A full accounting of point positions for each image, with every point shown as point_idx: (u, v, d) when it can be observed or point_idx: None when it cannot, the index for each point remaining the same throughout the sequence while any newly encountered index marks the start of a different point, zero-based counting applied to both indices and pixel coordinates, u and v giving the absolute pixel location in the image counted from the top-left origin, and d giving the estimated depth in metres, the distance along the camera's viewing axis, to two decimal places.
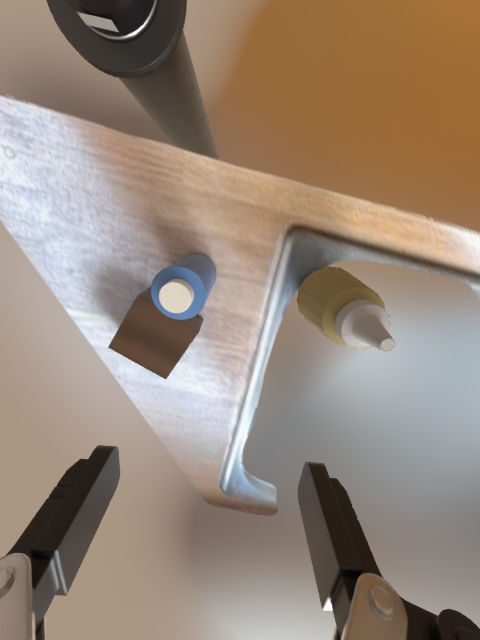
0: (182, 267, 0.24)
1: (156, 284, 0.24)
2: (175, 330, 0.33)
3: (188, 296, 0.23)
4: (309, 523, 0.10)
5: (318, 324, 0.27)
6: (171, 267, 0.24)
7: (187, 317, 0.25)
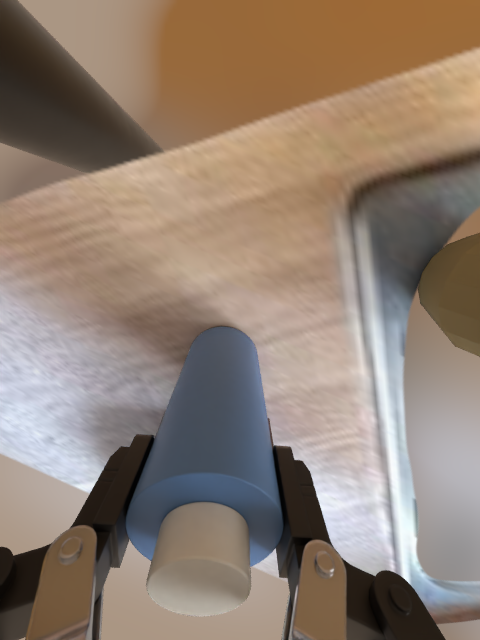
0: (177, 476, 0.08)
1: (139, 534, 0.09)
2: None
3: (233, 574, 0.07)
4: None
5: None
6: (149, 488, 0.08)
7: (255, 561, 0.09)
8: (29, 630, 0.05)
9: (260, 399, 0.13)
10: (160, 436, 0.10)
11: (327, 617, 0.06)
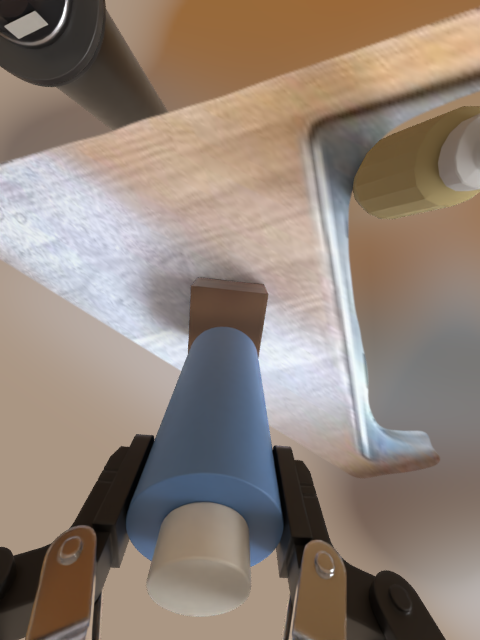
0: (177, 476, 0.08)
1: (139, 534, 0.09)
2: (243, 304, 0.30)
3: (233, 574, 0.07)
4: None
5: (410, 198, 0.21)
6: (149, 488, 0.08)
7: (255, 561, 0.09)
8: (29, 630, 0.05)
9: (260, 399, 0.13)
10: (160, 436, 0.10)
11: (327, 616, 0.06)
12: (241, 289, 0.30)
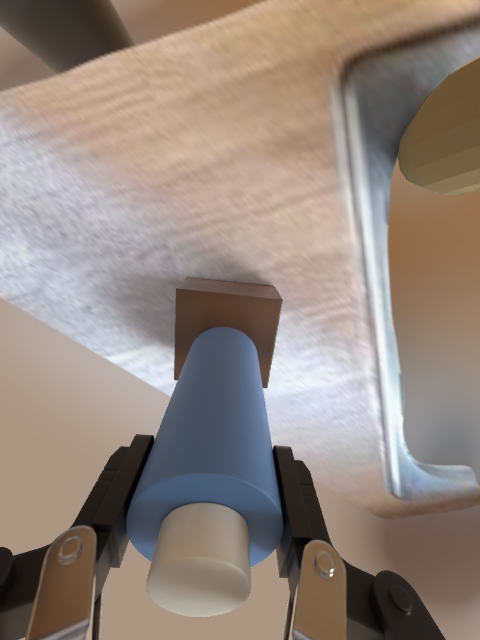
0: (177, 477, 0.08)
1: (139, 534, 0.09)
2: (249, 313, 0.22)
3: (233, 574, 0.07)
4: None
5: None
6: (149, 488, 0.08)
7: (255, 562, 0.09)
8: (29, 630, 0.05)
9: (260, 399, 0.13)
10: (160, 436, 0.10)
11: (327, 617, 0.06)
12: (245, 293, 0.22)
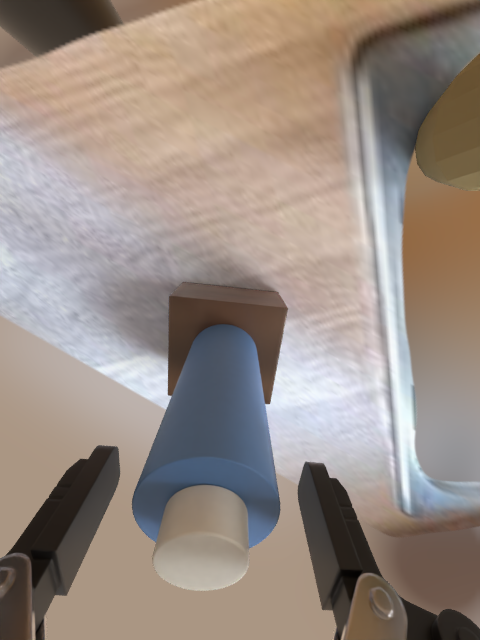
0: (181, 460, 0.08)
1: (144, 516, 0.09)
2: (250, 323, 0.19)
3: (232, 549, 0.07)
4: (309, 523, 0.10)
5: None
6: (155, 471, 0.08)
7: (254, 543, 0.10)
8: None
9: (259, 393, 0.13)
10: (164, 426, 0.11)
11: None
12: (246, 300, 0.20)
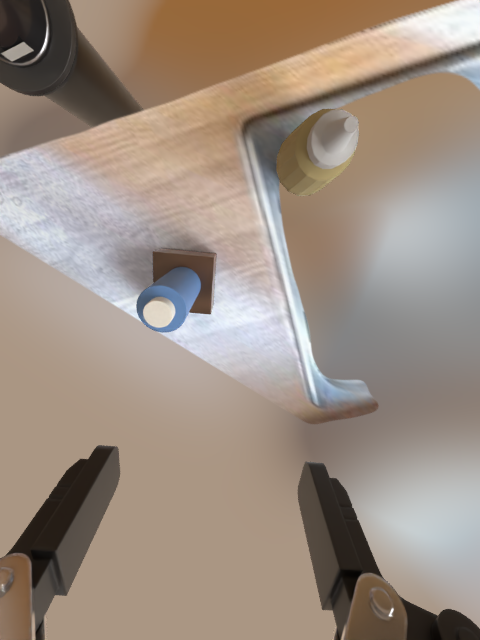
0: (151, 287, 0.26)
1: (140, 311, 0.27)
2: (195, 266, 0.37)
3: (166, 307, 0.25)
4: (309, 523, 0.10)
5: (300, 176, 0.29)
6: (143, 291, 0.26)
7: (179, 325, 0.28)
8: None
9: (189, 285, 0.31)
10: None
11: None
12: (193, 254, 0.38)
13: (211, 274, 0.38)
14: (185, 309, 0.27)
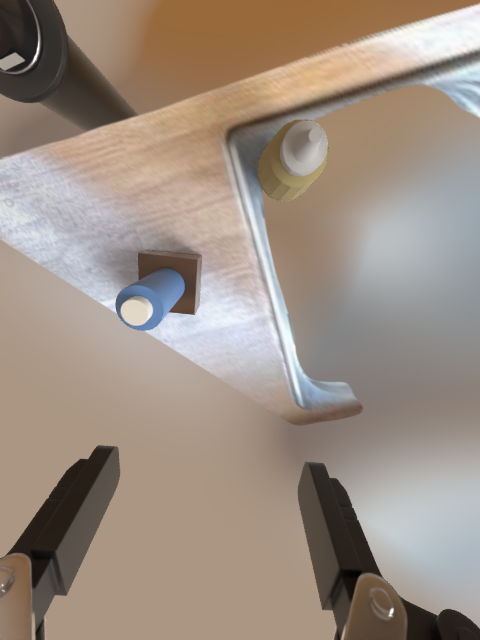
0: (129, 286, 0.27)
1: (119, 310, 0.28)
2: (179, 267, 0.39)
3: (142, 306, 0.27)
4: (309, 523, 0.10)
5: (276, 182, 0.30)
6: (122, 291, 0.28)
7: (157, 323, 0.29)
8: None
9: (170, 286, 0.32)
10: None
11: None
12: (178, 256, 0.39)
13: (195, 276, 0.39)
14: (162, 308, 0.28)
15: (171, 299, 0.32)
